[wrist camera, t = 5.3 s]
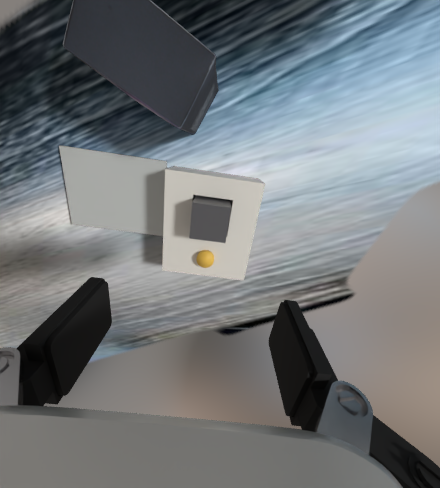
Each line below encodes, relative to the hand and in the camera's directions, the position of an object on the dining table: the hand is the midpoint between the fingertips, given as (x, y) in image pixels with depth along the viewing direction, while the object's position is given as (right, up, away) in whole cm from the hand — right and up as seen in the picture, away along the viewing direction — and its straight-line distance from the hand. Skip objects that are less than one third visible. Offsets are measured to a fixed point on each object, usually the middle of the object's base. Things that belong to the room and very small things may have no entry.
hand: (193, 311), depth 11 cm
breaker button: (0, +8, +19) cm, 20 cm away
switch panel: (0, +7, +21) cm, 22 cm away
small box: (-5, +23, +14) cm, 27 cm away
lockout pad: (-14, +11, +20) cm, 26 cm away
